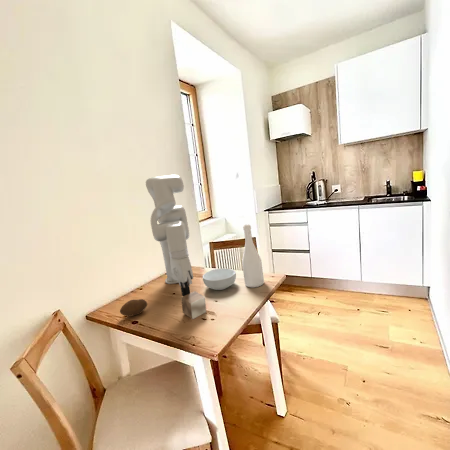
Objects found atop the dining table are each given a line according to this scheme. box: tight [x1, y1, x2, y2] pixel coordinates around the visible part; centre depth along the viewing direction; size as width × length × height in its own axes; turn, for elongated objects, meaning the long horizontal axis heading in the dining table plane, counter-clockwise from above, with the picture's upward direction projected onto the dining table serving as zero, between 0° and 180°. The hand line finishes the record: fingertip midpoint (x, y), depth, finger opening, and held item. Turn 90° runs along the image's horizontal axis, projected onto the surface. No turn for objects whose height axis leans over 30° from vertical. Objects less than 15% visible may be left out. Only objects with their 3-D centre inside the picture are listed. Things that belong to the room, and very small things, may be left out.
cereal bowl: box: [202, 267, 237, 291], centre depth 130 cm, size 17×17×7 cm
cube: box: [180, 290, 207, 320], centre depth 106 cm, size 7×7×7 cm
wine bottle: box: [241, 223, 265, 288], centre depth 125 cm, size 10×10×30 cm
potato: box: [119, 298, 148, 317], centre depth 113 cm, size 7×12×7 cm, turn 131°
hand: (186, 295), depth 109 cm, fingers closed
